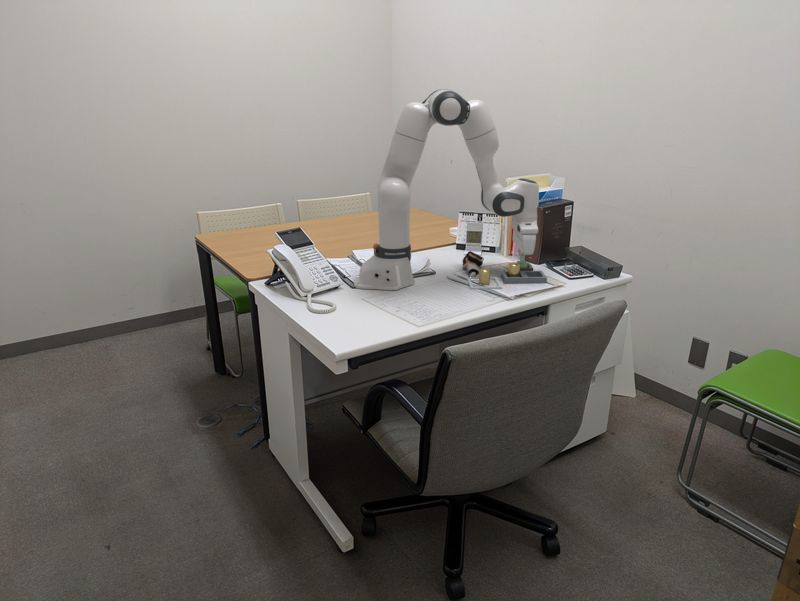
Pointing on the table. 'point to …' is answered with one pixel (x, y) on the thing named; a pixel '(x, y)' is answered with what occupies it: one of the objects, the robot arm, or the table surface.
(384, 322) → the table surface
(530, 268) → the button housing
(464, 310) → the table surface
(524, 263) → the button
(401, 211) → the robot arm
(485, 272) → the cylinder
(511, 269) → the billet
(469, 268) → the figurine
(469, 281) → the grey square tray
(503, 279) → the compartment tray
